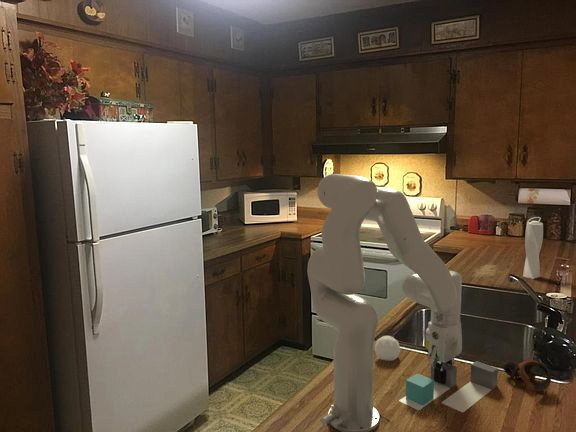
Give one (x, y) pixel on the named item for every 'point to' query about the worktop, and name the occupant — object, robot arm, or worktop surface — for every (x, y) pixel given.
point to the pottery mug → (528, 374)
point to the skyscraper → (533, 248)
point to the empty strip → (474, 387)
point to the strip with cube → (436, 386)
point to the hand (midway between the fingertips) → (443, 379)
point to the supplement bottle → (427, 336)
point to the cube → (419, 389)
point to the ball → (387, 348)
